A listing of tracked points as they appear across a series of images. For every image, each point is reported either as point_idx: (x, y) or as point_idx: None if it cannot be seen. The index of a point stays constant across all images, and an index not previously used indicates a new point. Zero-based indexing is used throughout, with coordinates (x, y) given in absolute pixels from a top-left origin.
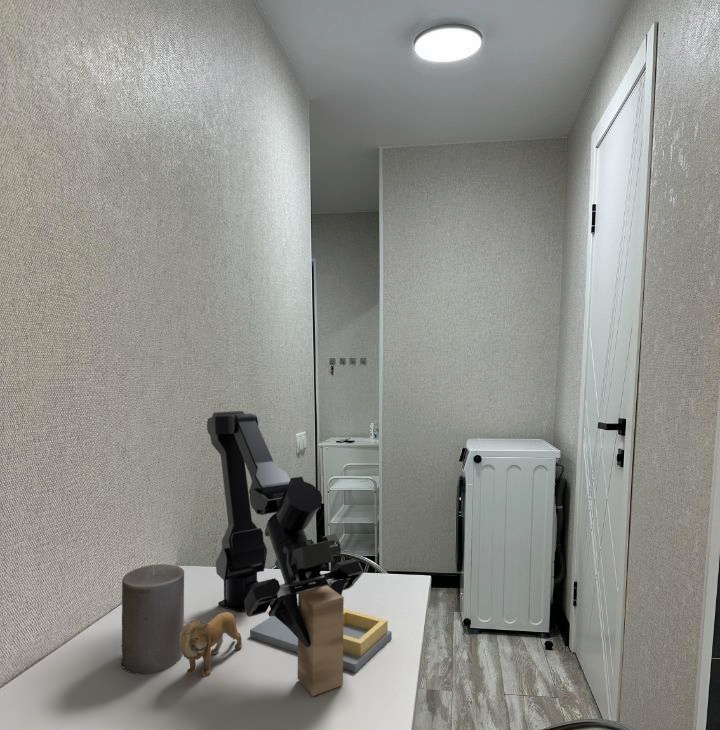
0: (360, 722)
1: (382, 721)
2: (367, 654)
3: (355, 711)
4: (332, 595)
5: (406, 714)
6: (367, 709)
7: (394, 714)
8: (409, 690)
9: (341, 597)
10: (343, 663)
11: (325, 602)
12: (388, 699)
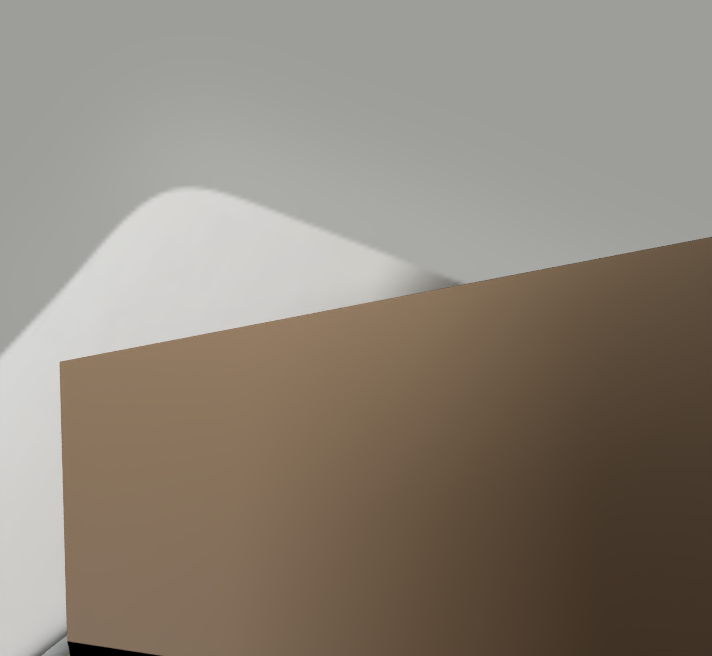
0: (308, 229)
1: (237, 206)
2: (60, 640)
3: (302, 285)
4: (314, 593)
5: (142, 206)
6: (257, 278)
7: (180, 221)
8: (44, 319)
9: (123, 355)
10: None
11: (582, 269)
12: (155, 300)
